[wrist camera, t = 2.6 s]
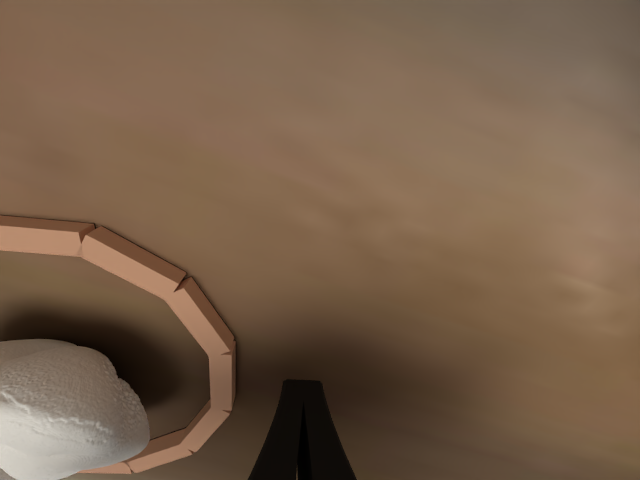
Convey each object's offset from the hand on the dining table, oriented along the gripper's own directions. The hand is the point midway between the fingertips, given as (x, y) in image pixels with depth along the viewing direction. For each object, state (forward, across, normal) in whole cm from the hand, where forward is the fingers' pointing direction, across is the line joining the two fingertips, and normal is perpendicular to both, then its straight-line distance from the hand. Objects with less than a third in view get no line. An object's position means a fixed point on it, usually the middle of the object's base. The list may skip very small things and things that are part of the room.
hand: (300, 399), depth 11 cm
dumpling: (+2, +8, 0) cm, 9 cm away
